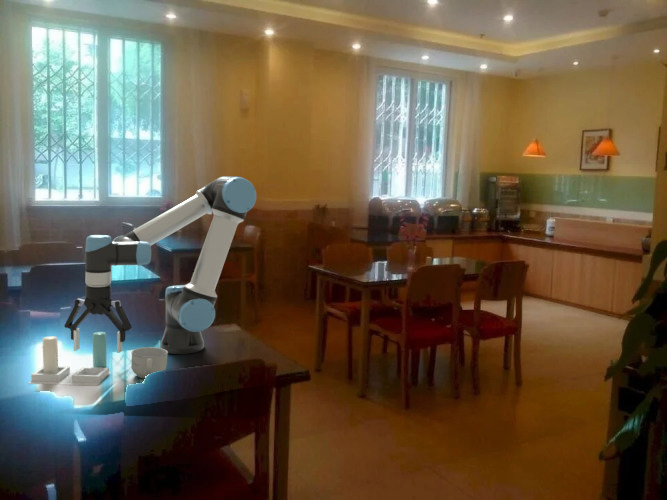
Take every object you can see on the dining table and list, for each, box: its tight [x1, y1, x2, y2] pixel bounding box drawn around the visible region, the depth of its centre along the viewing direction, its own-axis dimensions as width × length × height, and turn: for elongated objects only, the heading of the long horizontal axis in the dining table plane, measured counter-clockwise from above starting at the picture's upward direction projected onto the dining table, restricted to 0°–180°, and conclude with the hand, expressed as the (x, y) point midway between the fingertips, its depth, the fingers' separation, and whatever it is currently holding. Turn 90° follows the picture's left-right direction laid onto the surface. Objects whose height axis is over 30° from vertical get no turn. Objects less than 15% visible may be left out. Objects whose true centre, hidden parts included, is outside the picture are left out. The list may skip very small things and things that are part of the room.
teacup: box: [131, 346, 169, 379], centre depth 190 cm, size 14×11×8 cm
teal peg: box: [92, 331, 108, 368], centre depth 194 cm, size 4×4×12 cm
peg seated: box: [42, 336, 59, 374], centre depth 184 cm, size 4×4×12 cm
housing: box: [28, 365, 112, 387], centre depth 185 cm, size 20×12×3 cm, turn 90°
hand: (98, 350), depth 194 cm, fingers open, 13 cm apart
